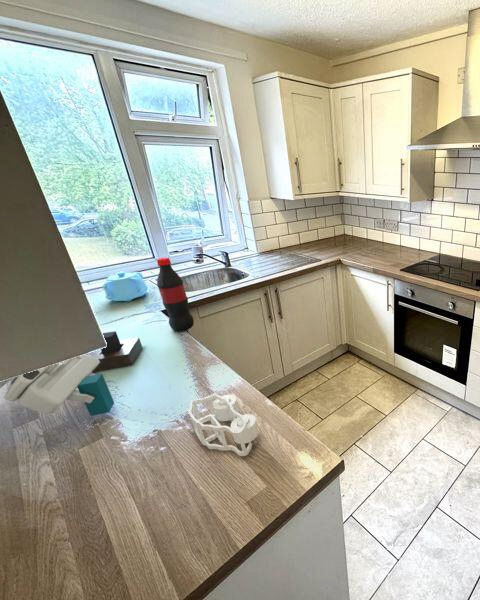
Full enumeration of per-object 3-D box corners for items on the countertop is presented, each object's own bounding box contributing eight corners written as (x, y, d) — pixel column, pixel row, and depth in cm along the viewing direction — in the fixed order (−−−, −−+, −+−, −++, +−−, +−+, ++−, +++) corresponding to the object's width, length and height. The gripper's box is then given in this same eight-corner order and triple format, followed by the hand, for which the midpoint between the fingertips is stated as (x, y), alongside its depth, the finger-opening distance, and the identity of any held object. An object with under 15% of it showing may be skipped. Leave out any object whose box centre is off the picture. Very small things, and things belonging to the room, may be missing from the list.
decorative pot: (114, 294, 169) (104, 269, 164) (151, 289, 176) (143, 265, 170) (104, 306, 156) (93, 279, 150) (145, 300, 162) (136, 274, 157)
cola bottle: (189, 321, 141) (170, 254, 129) (199, 327, 137) (179, 257, 125) (167, 329, 135) (145, 259, 123) (176, 335, 130) (154, 262, 119)
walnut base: (51, 380, 104) (45, 368, 102) (69, 359, 114) (64, 348, 113) (132, 365, 111) (128, 354, 110) (142, 347, 122) (138, 337, 120)
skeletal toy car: (266, 442, 81) (262, 419, 78) (220, 471, 74) (213, 447, 71) (232, 405, 93) (227, 384, 91) (189, 426, 86) (182, 404, 83)
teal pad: (90, 416, 87) (76, 385, 83) (96, 406, 91) (83, 376, 87) (109, 412, 89) (96, 382, 85) (114, 402, 92) (102, 373, 88)
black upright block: (107, 364, 112) (96, 338, 108) (111, 358, 115) (101, 333, 111) (121, 361, 113) (111, 336, 109) (125, 355, 117) (115, 331, 113)
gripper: (55, 355, 91) (110, 378, 97) (-2, 404, 73) (69, 428, 79) (69, 339, 90) (123, 363, 97) (15, 384, 72) (85, 410, 79)
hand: (98, 393), depth 88 cm, fingers closed on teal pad, 4 cm apart
